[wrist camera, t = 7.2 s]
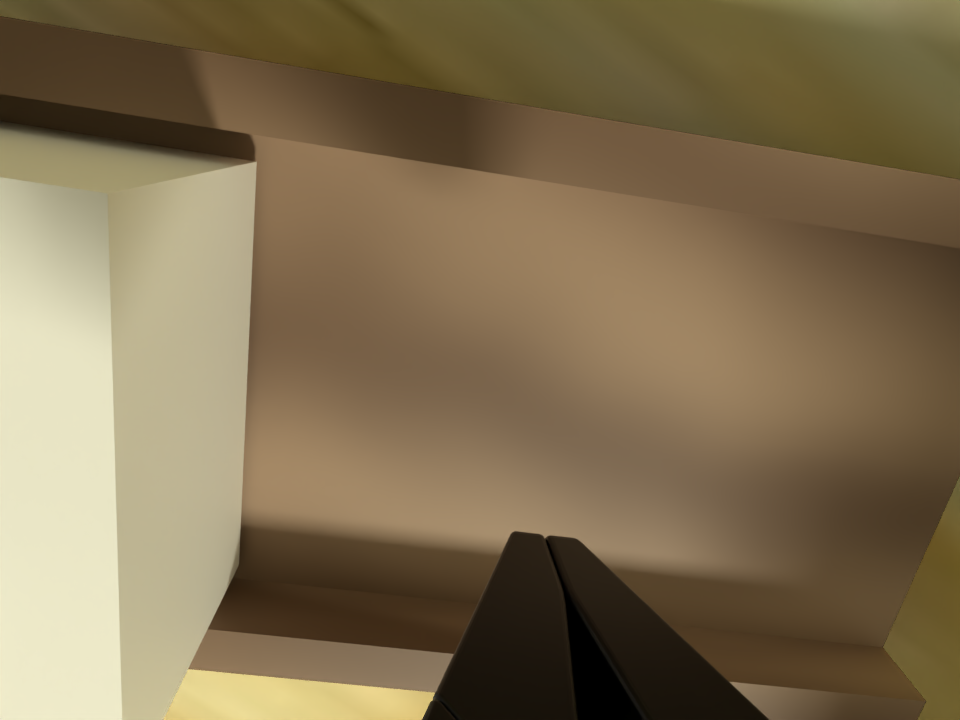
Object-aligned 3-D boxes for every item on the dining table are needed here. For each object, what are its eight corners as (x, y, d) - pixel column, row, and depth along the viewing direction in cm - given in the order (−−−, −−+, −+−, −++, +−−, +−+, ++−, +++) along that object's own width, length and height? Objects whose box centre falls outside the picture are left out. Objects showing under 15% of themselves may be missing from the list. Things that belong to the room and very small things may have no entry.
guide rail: (843, 649, 16) (998, 861, 12) (-133, 545, 15) (-412, 748, 10) (1036, 197, 13) (1370, 241, 8) (-232, -18, 11) (-748, -120, 6)
